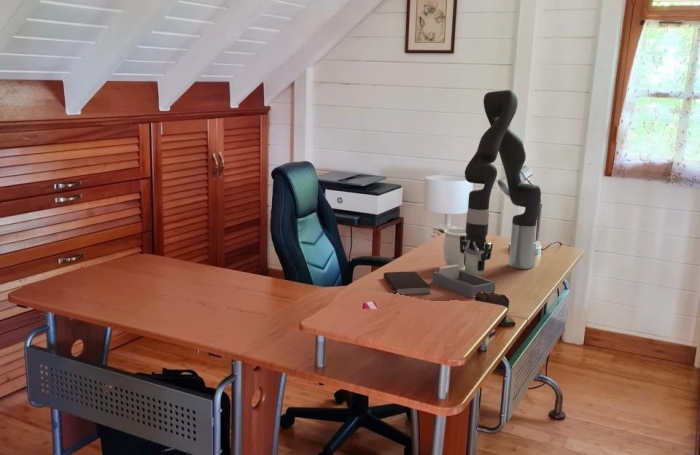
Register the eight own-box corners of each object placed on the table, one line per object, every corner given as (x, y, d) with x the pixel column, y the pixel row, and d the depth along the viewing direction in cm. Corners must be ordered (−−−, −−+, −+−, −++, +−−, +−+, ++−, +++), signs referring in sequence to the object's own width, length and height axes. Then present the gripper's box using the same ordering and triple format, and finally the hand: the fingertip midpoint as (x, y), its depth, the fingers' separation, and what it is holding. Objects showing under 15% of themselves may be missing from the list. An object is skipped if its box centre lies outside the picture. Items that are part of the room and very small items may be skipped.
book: (395, 296, 232) (395, 287, 231) (383, 279, 250) (383, 271, 249) (430, 295, 234) (431, 286, 233) (416, 279, 252) (416, 270, 252)
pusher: (456, 277, 250) (457, 264, 249) (458, 278, 249) (459, 265, 248) (438, 280, 245) (439, 267, 244) (441, 281, 244) (442, 268, 243)
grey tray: (455, 278, 253) (455, 268, 252) (494, 293, 237) (495, 282, 236) (432, 282, 246) (432, 272, 246) (470, 298, 230) (471, 287, 229)
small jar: (460, 271, 237) (462, 248, 235) (473, 268, 240) (475, 246, 238) (473, 275, 232) (474, 252, 230) (486, 273, 235) (488, 250, 233)
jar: (460, 273, 259) (463, 235, 255) (437, 268, 265) (439, 231, 261) (473, 268, 267) (476, 231, 264) (450, 263, 273) (452, 227, 270)
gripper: (454, 218, 236) (451, 264, 239) (484, 226, 224) (480, 275, 228) (470, 216, 240) (467, 262, 243) (500, 224, 228) (496, 272, 232)
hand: (473, 268), depth 236 cm, fingers closed on small jar, 6 cm apart
